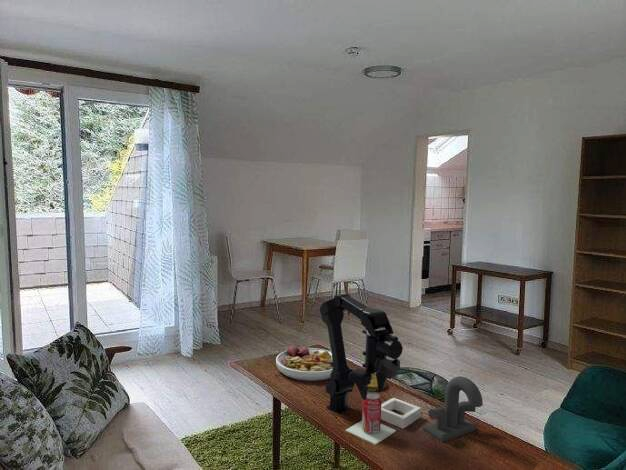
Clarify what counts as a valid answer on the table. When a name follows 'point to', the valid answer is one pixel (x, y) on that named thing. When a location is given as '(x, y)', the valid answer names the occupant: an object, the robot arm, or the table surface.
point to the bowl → (305, 363)
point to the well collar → (410, 411)
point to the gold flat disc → (374, 384)
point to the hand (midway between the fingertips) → (372, 395)
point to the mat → (371, 437)
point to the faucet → (455, 410)
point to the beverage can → (371, 413)
